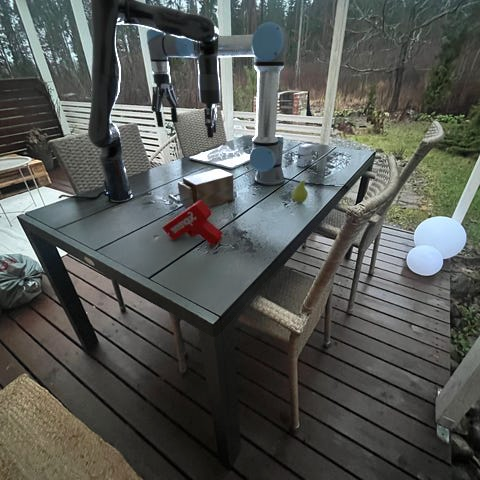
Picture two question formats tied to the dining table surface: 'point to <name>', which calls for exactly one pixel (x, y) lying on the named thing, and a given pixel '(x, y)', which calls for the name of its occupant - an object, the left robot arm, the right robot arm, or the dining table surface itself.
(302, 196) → the fruit
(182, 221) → the toy gun
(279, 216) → the dining table surface
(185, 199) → the drawer
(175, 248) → the dining table surface
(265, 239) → the dining table surface
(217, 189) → the wooden drawer box
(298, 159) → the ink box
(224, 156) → the relief map
